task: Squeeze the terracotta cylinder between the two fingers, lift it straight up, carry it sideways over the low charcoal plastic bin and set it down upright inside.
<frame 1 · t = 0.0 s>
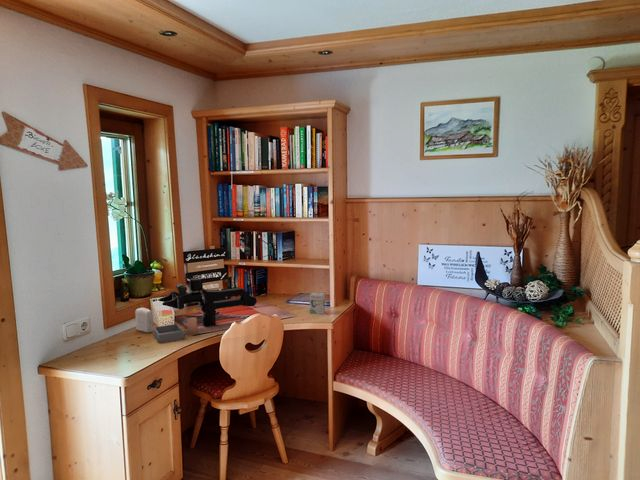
hand: (160, 301, 244), 17 cm above the table, tool horizontal, fingers open, 9 cm apart
photo printer: (144, 330, 250), on the table
terracotta cylinder: (192, 333, 245), on the table
bin: (168, 336, 240), on the table
ink box: (317, 313, 280), on the table
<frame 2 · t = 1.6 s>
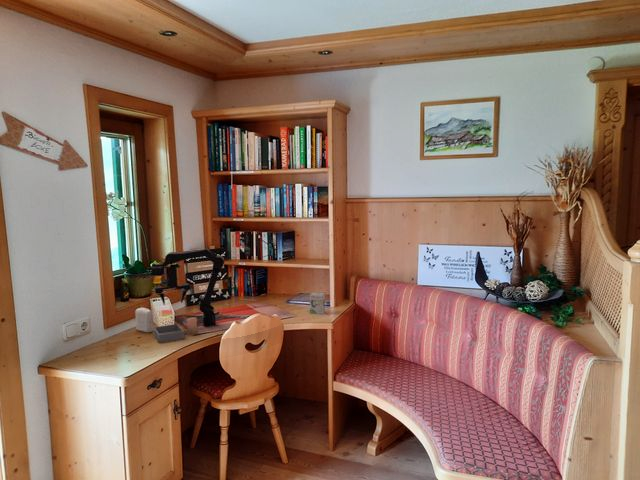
hand: (172, 303, 254), 13 cm above the table, tool pointing down, fingers open, 9 cm apart
nothing on the table moved.
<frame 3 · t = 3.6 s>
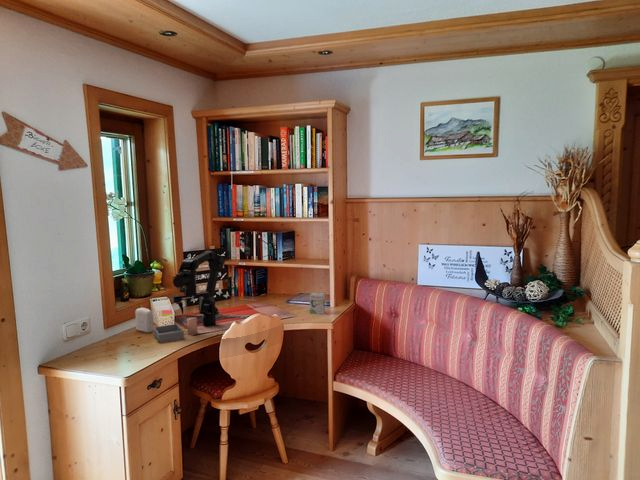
hand: (191, 312, 243), 11 cm above the table, tool pointing down, fingers open, 9 cm apart
nothing on the table moved.
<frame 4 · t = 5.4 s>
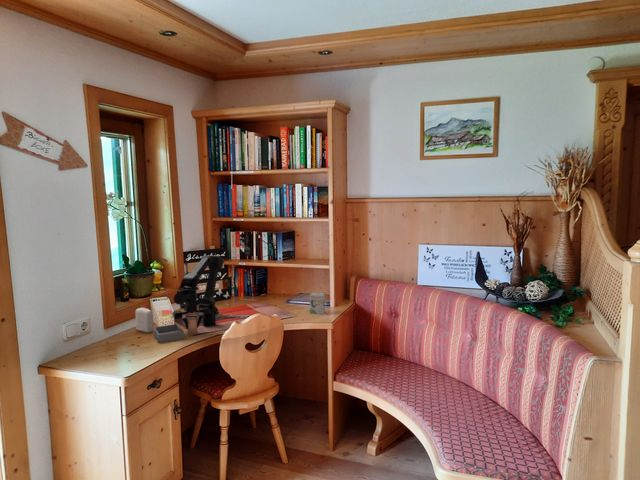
hand: (192, 328, 244), 3 cm above the table, tool pointing down, fingers closed on terracotta cylinder, 5 cm apart
terracotta cylinder: (192, 333, 245), on the table, touching gripper
everything else where it was.
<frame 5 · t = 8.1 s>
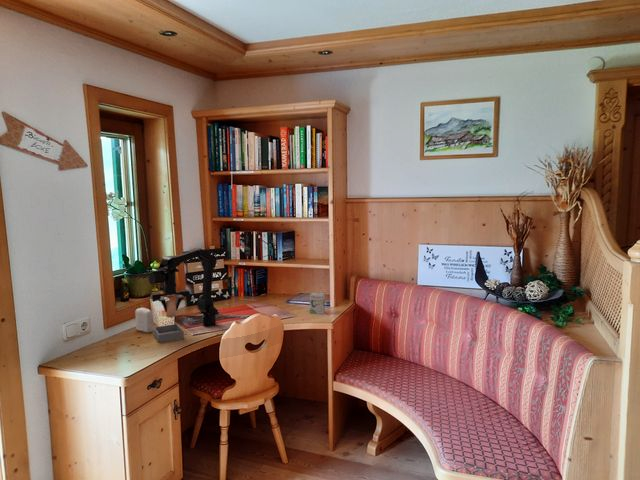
hand: (171, 311, 238), 13 cm above the table, tool pointing down, fingers closed on terracotta cylinder, 5 cm apart
terracotta cylinder: (171, 316, 239), point 11 cm above the table, touching gripper
everything else where it was.
when the fingers open (5 cm above the table, at t = 11.1 s): terracotta cylinder drops 1 cm, resting on bin.
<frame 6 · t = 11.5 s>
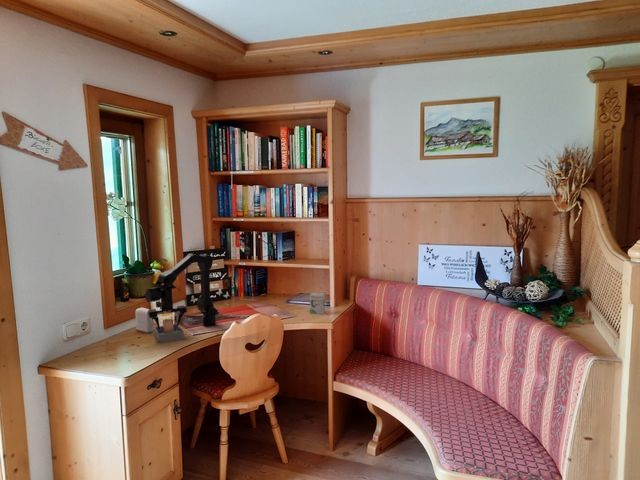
hand: (168, 327, 239), 5 cm above the table, tool pointing down, fingers open, 9 cm apart
terracotta cylinder: (168, 335, 239), point 1 cm above the table, touching bin
everything else where it was.
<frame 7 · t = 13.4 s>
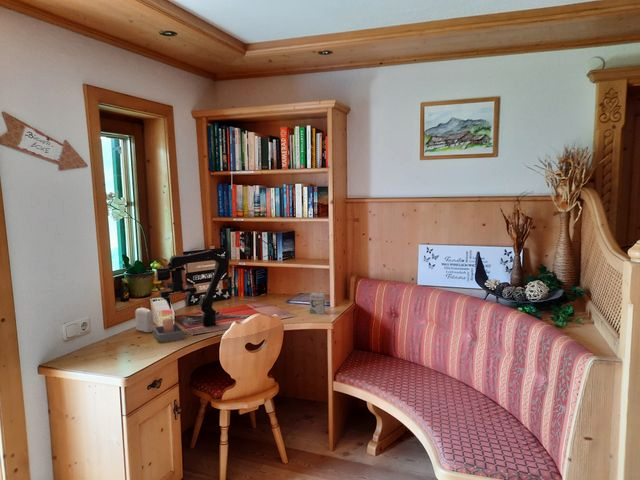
hand: (179, 307, 250), 12 cm above the table, tool pointing down, fingers open, 9 cm apart
nothing on the table moved.
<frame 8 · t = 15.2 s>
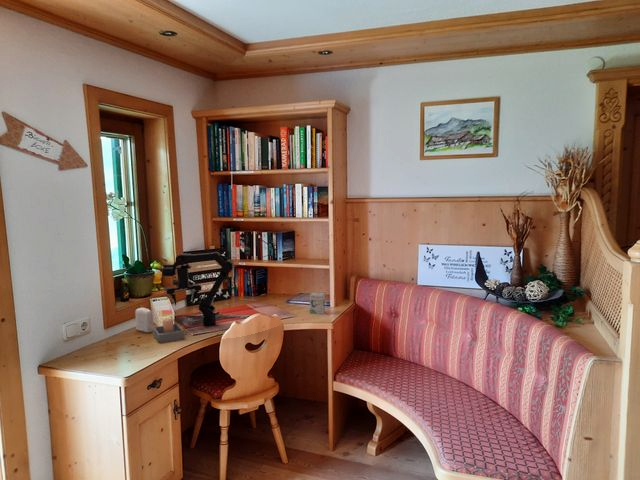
hand: (184, 304, 257), 12 cm above the table, tool pointing down, fingers open, 9 cm apart
nothing on the table moved.
at the end: terracotta cylinder inside the target area on the bin (0.1 cm from its centre), point 0.8 cm above the bin's base; terracotta cylinder tilted 0°; the gripper is holding nothing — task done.
